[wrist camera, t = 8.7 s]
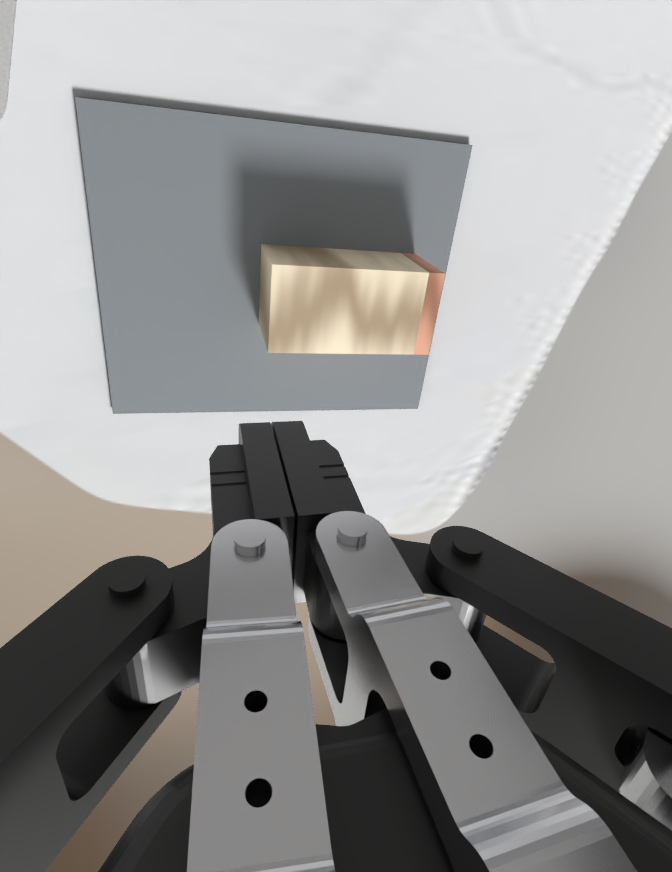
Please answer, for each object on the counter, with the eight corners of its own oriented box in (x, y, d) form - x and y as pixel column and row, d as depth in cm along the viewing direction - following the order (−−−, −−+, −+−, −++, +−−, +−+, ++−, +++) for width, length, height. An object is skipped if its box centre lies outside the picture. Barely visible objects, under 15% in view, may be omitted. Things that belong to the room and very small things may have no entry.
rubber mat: (76, 97, 27) (74, 97, 27) (469, 144, 32) (472, 145, 32) (113, 410, 36) (112, 413, 36) (415, 406, 41) (417, 408, 41)
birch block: (272, 264, 28) (445, 273, 31) (261, 244, 32) (414, 253, 35) (268, 353, 31) (428, 354, 33) (258, 323, 35) (401, 327, 37)
